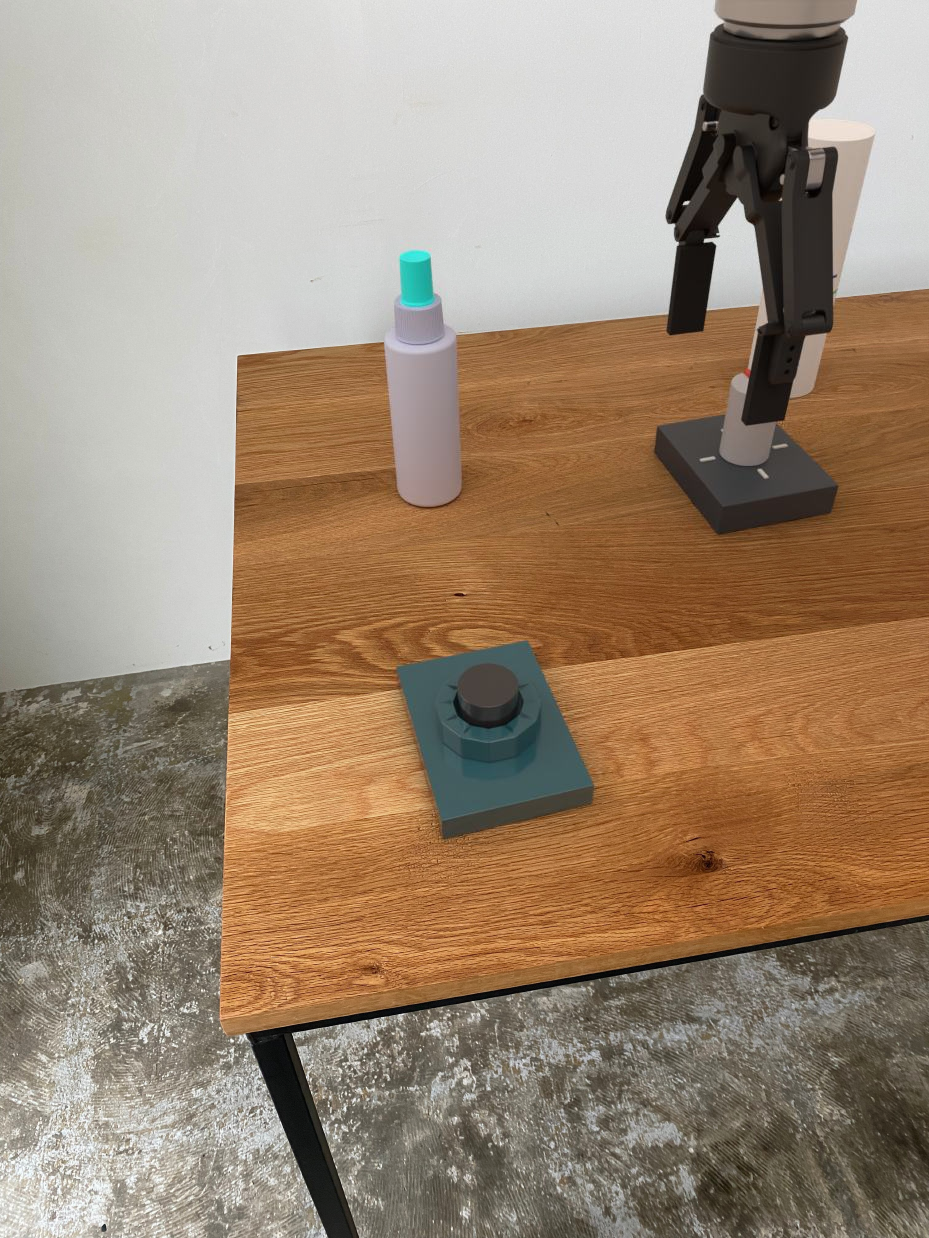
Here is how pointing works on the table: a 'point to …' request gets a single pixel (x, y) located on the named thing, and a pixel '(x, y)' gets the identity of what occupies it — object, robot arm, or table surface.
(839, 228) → the cylindrical container
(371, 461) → the table surface
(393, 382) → the spray bottle
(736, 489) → the dial base
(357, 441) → the table surface
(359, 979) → the table surface
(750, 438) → the tap dial
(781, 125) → the robot arm
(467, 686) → the dark grey round knob
